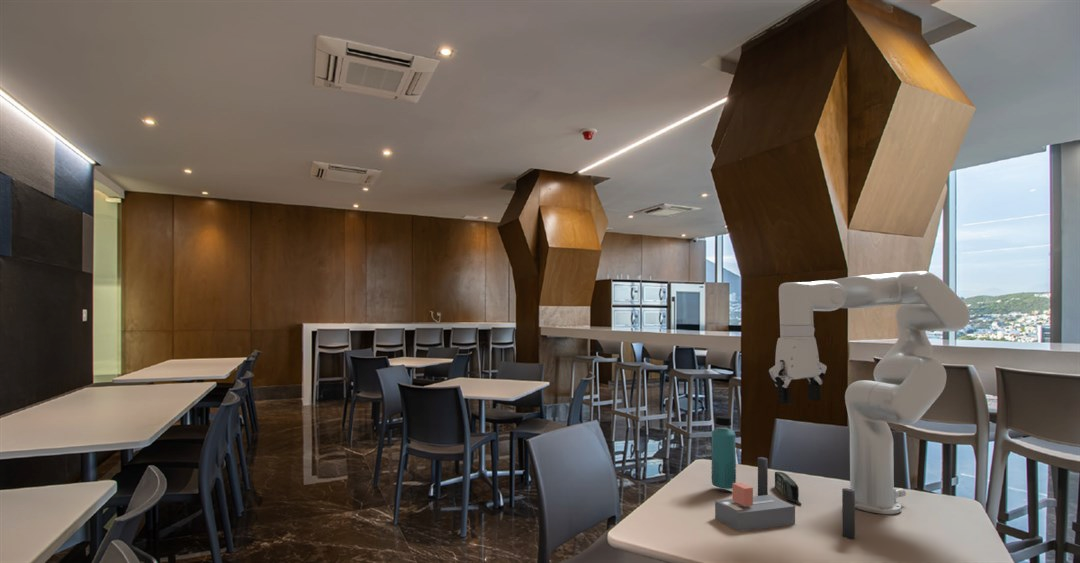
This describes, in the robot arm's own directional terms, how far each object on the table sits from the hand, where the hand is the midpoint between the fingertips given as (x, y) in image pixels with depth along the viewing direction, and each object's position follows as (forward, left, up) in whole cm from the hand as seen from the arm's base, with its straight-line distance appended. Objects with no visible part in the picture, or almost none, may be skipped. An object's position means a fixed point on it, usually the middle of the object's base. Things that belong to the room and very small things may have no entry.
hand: (799, 401), depth 132 cm
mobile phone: (-7, -11, -27) cm, 30 cm away
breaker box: (+14, +1, -27) cm, 30 cm away
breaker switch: (+18, +1, -22) cm, 29 cm away
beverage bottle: (+7, -19, -27) cm, 34 cm away
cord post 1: (0, -12, -27) cm, 30 cm away
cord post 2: (0, +14, -27) cm, 30 cm away
